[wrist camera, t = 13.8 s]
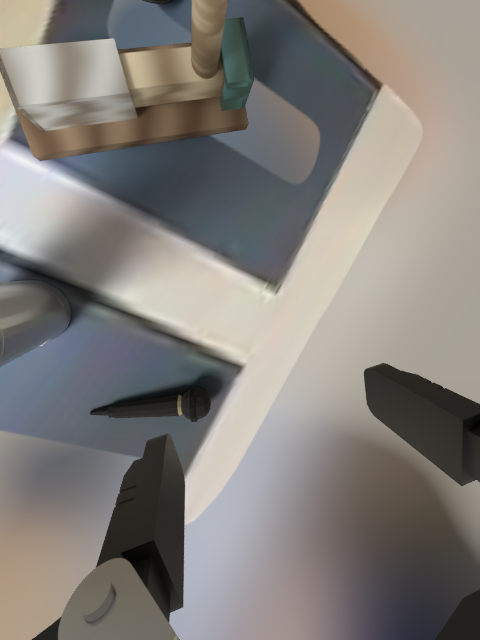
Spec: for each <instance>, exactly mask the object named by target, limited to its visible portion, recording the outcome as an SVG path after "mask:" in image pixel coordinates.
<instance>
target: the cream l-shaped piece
mask: <svg viewBox="0 0 480 640" xmlns="http://www.w3.org/2000/svg"><path fill="white" fill-rule="evenodd" d="M227 2H228V0H192V34H191V47H182V48H171V49H161V50H151V51H140V52H130V53H120V54H119V57H120V61H121V64H122V68H123V71H124V75H125V79H126V82H127V86H128V89H129V92H130V95H131V98H132V101H133V104H134V107H135V108H136V107H143V106H151V105H159V104H166V103H174V102H182V101H189V100H197V99H205V98H213V97H220V96H222V91H223V86H224V81H225V78H224V73H223V67H222V62H221V57H220V50H221V43H222V36H223V29H224V23H225V16H226V9H227Z"/></svg>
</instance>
